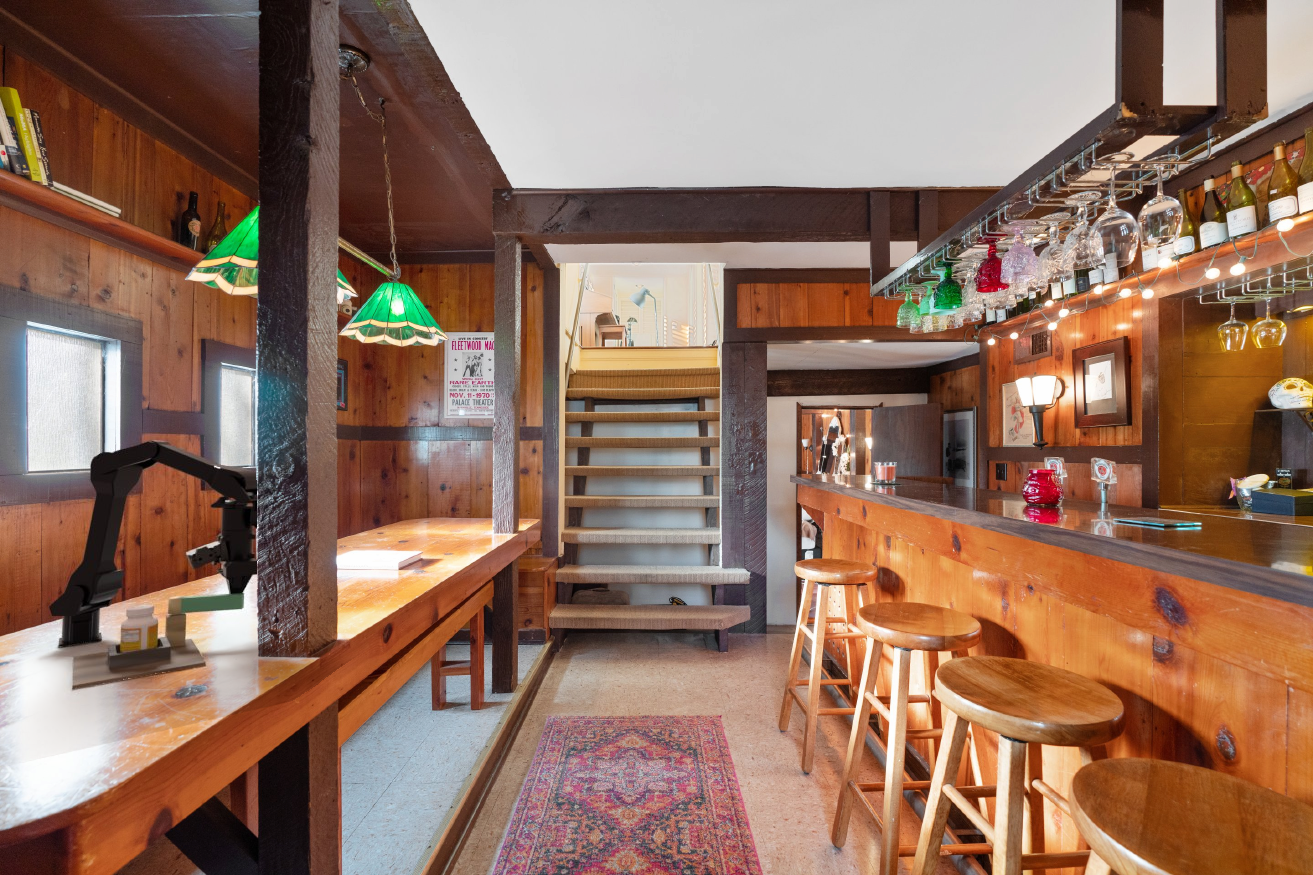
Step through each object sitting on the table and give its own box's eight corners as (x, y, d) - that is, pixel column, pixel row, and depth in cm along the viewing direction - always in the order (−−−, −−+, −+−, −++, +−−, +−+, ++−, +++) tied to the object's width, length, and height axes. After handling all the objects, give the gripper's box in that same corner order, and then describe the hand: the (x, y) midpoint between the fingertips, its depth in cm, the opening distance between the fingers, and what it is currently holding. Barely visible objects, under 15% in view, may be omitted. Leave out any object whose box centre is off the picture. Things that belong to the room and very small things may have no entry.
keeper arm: (165, 614, 124) (166, 599, 124) (170, 611, 126) (171, 596, 126) (241, 609, 128) (241, 594, 128) (244, 606, 131) (244, 592, 131)
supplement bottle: (151, 652, 120) (153, 602, 120) (161, 658, 117) (163, 606, 117) (115, 660, 115) (117, 607, 116) (124, 665, 112) (126, 611, 113)
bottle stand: (73, 659, 117) (74, 624, 117) (191, 641, 129) (192, 609, 130) (72, 689, 103) (73, 648, 103) (205, 665, 115) (206, 629, 115)
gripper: (184, 526, 133) (181, 600, 132) (196, 537, 119) (193, 619, 119) (245, 523, 140) (243, 592, 140) (264, 533, 127) (261, 610, 126)
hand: (234, 603), depth 131 cm, fingers closed
